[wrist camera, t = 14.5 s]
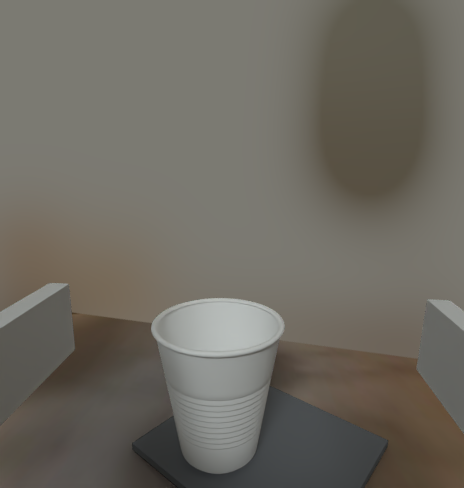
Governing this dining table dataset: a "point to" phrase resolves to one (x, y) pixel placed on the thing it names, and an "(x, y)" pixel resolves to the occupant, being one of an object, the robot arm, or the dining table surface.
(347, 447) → the mat
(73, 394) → the dining table surface
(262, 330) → the cup
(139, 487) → the dining table surface
